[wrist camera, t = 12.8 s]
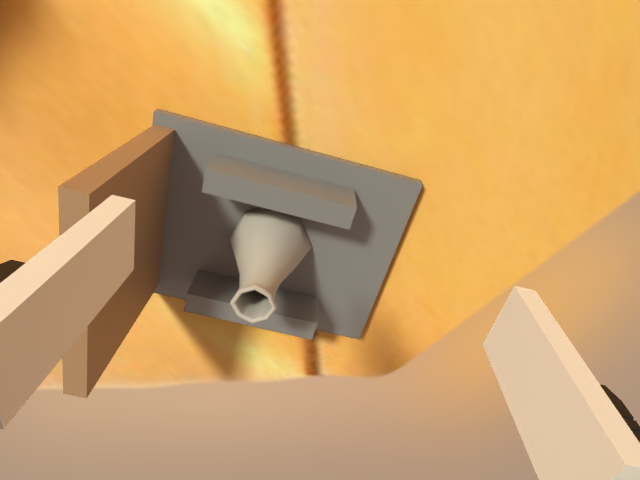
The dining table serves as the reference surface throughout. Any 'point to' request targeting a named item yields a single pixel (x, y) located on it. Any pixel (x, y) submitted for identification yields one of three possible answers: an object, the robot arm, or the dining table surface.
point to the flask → (265, 259)
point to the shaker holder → (219, 221)
